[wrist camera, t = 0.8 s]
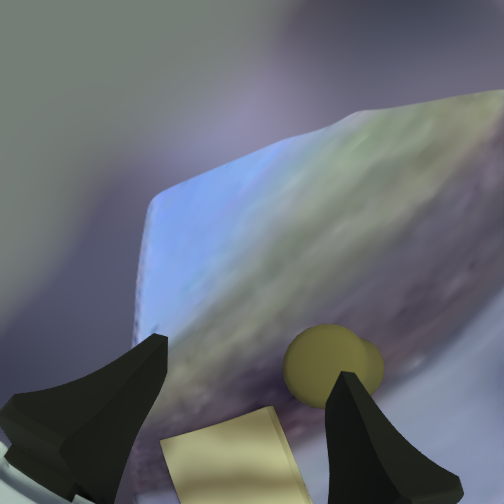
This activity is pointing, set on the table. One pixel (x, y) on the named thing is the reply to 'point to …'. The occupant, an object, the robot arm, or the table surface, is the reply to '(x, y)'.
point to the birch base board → (236, 463)
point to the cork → (329, 363)
